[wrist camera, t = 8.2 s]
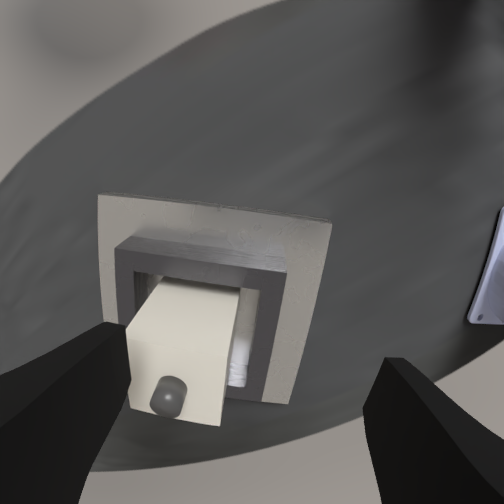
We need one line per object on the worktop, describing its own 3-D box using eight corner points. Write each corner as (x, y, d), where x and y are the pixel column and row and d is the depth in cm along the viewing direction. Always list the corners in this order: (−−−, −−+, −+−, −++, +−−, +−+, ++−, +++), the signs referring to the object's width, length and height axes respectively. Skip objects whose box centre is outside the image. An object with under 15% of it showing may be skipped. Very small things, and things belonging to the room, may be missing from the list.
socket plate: (328, 219, 16) (341, 235, 13) (287, 393, 20) (289, 426, 17) (106, 191, 16) (78, 202, 13) (116, 364, 20) (100, 391, 17)
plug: (241, 284, 16) (223, 379, 10) (233, 347, 18) (216, 447, 11) (165, 273, 17) (108, 355, 10) (165, 336, 18) (121, 426, 11)
